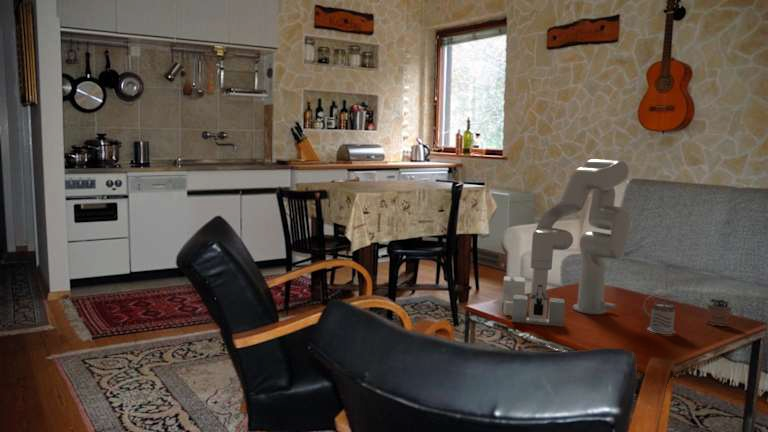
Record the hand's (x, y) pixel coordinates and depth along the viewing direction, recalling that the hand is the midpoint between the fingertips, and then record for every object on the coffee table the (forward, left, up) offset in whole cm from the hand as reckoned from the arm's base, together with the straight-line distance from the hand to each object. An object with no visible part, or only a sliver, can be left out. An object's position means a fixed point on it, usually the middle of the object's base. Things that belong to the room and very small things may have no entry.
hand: (537, 312), depth 236 cm
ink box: (+9, -19, -4) cm, 21 cm away
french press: (-43, -5, -4) cm, 43 cm away
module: (0, 0, -2) cm, 2 cm away
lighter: (-67, -21, -4) cm, 70 cm away
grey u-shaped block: (0, 0, -4) cm, 4 cm away
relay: (+10, -8, -4) cm, 13 cm away
